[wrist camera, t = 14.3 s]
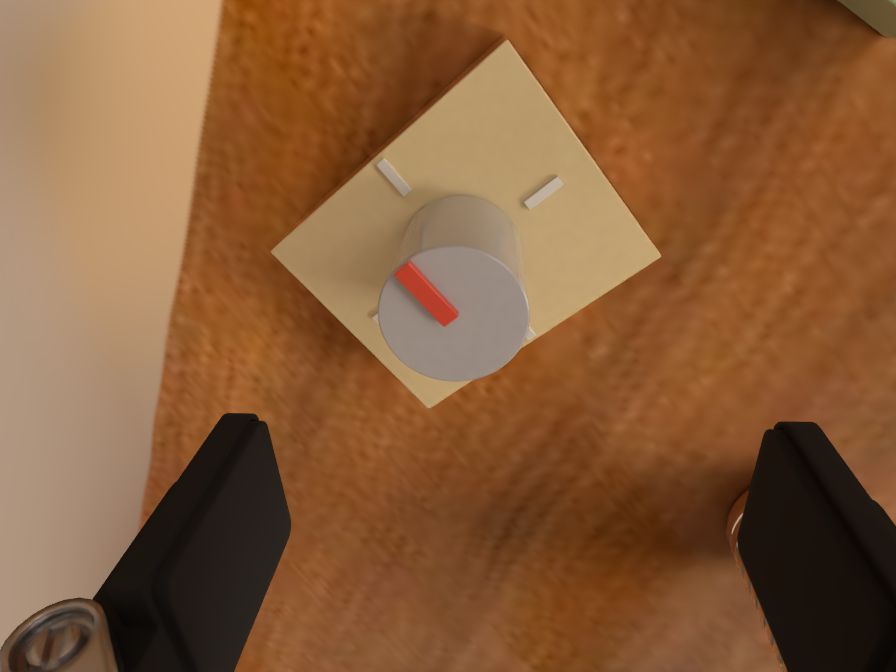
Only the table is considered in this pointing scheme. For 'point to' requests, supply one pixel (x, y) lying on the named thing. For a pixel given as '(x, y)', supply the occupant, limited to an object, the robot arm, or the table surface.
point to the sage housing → (875, 14)
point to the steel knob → (456, 291)
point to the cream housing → (480, 175)
